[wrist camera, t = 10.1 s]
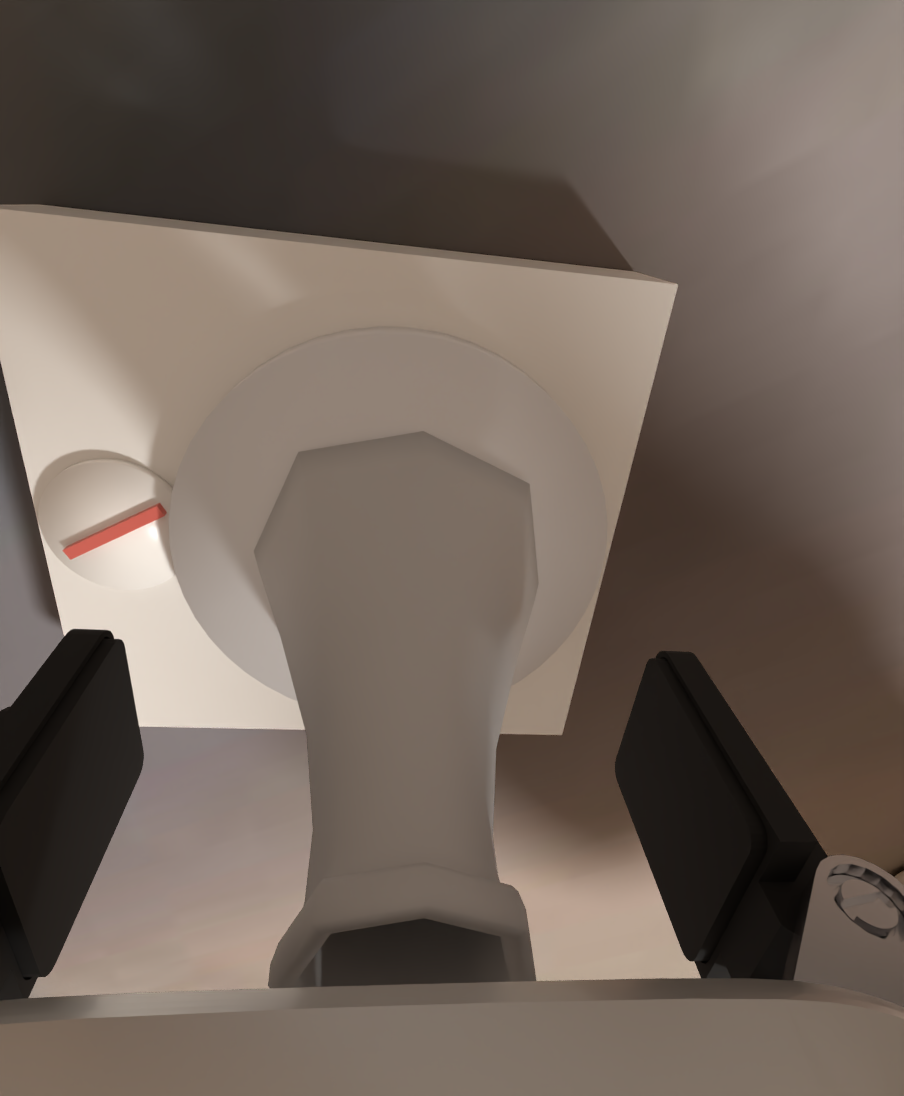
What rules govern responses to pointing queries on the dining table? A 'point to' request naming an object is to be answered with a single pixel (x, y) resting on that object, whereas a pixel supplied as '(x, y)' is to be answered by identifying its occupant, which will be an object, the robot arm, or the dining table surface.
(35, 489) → the kitchen scale
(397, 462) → the flask
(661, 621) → the dining table surface
